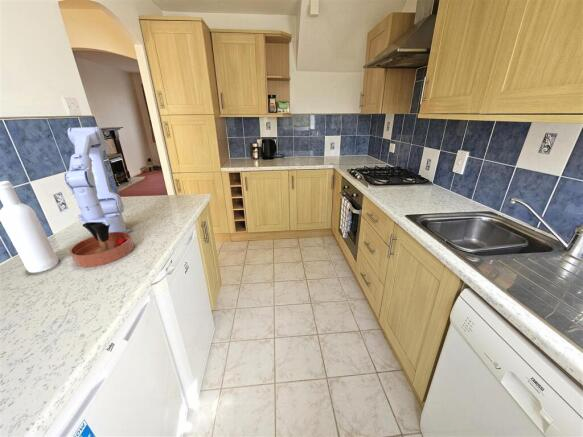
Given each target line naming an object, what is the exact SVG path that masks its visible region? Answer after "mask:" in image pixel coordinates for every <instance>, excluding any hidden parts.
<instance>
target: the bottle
mask: <svg viewBox="0 0 583 437" xmlns="http://www.w3.org/2000/svg"><path fill="white" fill-rule="evenodd" d="M0 202H1V204H2V208H1V209H0V223H1V225H2V226H3V228H4V230H5V232H6V234H7V236H8V238H9V239H10V241H11V243H12V245H13V246H14V249H15V250H16V253H17V254H18V256H19V258H20V260H21V261H22V263H23V266H24V268H25V270H27V272H28V273H30V274H31V273H39V272H43V271H46V270H49V269H51V268H53V267H55V266H57V265H58V264H59V259H58V256H57V254H56V252H55V251H54V249H53V246H52V244H51V242H50V240H49V238H48V235H47V234H46V232H45V230H44V228H43V227H44V226H43V225H42V223H41V221H40V219H39V217H38V214H37V213H36V211H35V210H34V209H33V208H32V206H30V205H28V204H25V203H23V202H21V201H20V199H19V196H18V195H17V192H16V190H15V189H14V185H13V184H12V183H11V181H9V180H3V181H0Z"/></svg>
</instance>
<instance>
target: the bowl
mask: <svg viewBox="0 0 583 437" xmlns="http://www.w3.org/2000/svg"><path fill="white" fill-rule="evenodd" d="M118 238H124V239H125V243H123V244H122V245H118V244H116V240H117V239H118ZM107 245H108V247H114V249H111V250H109V251H105V252H102V253H98V254H96V253H95V251H96V250H97V249H100V245H99V241H97V240H96V239H95V238H94V236H93V235H92V236H90V237H88V238H84V239H82V240H80V241H79V242H77V243H75V244H74V245H73V246H71V247H70V249H69V252H68V253H69V255H70V257H71V260H72V262H73V264H74V265H75V266H76V267H80V268H94V267H100V266H105V265H107V264H111V263H114V262H116V261H119V260H121V259H122V258H124V257H126V256H128V255H129V254H130V253H132V251H133V250H134V248H135V244H134V242H133V238H132V235H131V234H130V233H129V232H110V233H109V240H107Z"/></svg>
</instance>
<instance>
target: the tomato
mask: <svg viewBox="0 0 583 437" xmlns="http://www.w3.org/2000/svg"><path fill="white" fill-rule="evenodd" d="M123 243H125V239H124V238H118V239H117V240H116V244H118V245H122V244H123Z"/></svg>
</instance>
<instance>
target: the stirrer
mask: <svg viewBox="0 0 583 437" xmlns="http://www.w3.org/2000/svg"><path fill="white" fill-rule="evenodd" d="M97 237H98V241H99V245H100V249H97V250H96V251H95V253H96V254H98V253H102V252H105V251H109V250H111V249H114V247H108V245H107V241H104V242H102V241H101V240H100V238H99V236H98V234H97Z"/></svg>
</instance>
